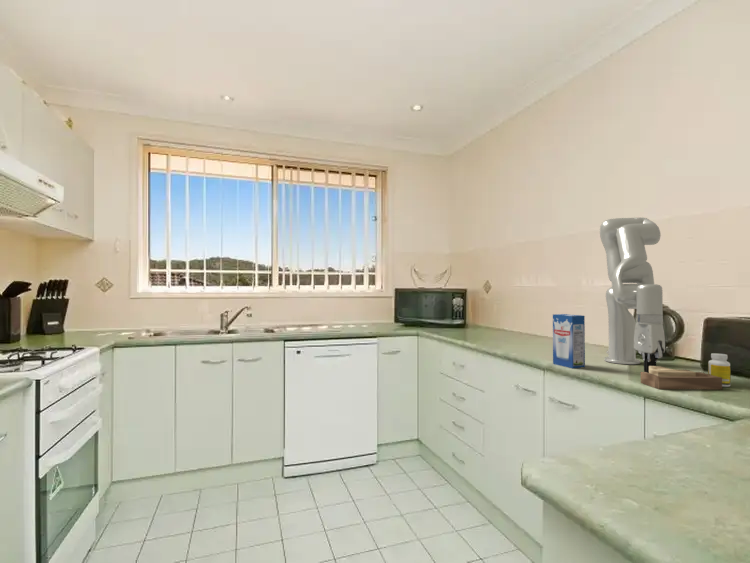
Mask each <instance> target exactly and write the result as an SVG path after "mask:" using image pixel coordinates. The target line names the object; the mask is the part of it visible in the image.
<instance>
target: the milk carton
mask: <svg viewBox="0 0 750 563" xmlns="http://www.w3.org/2000/svg"><path fill="white" fill-rule="evenodd" d="M585 317H586V316H585V315H581V314H567V313H561V314H560V313H559V314H557V313H556V314H554V313H553V314H552V365H555V366H556V365H557V366H560V367H561V366H562V367H565V368H569V369H580V368H581V367H584V368H585V367H586V350H585V349H586V345H585V344H586V341H585V340H586V339H585V338H586V337H585V336H586V335H585V334H586V330H585V327H586V326H585V321H586V320H585Z"/></svg>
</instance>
